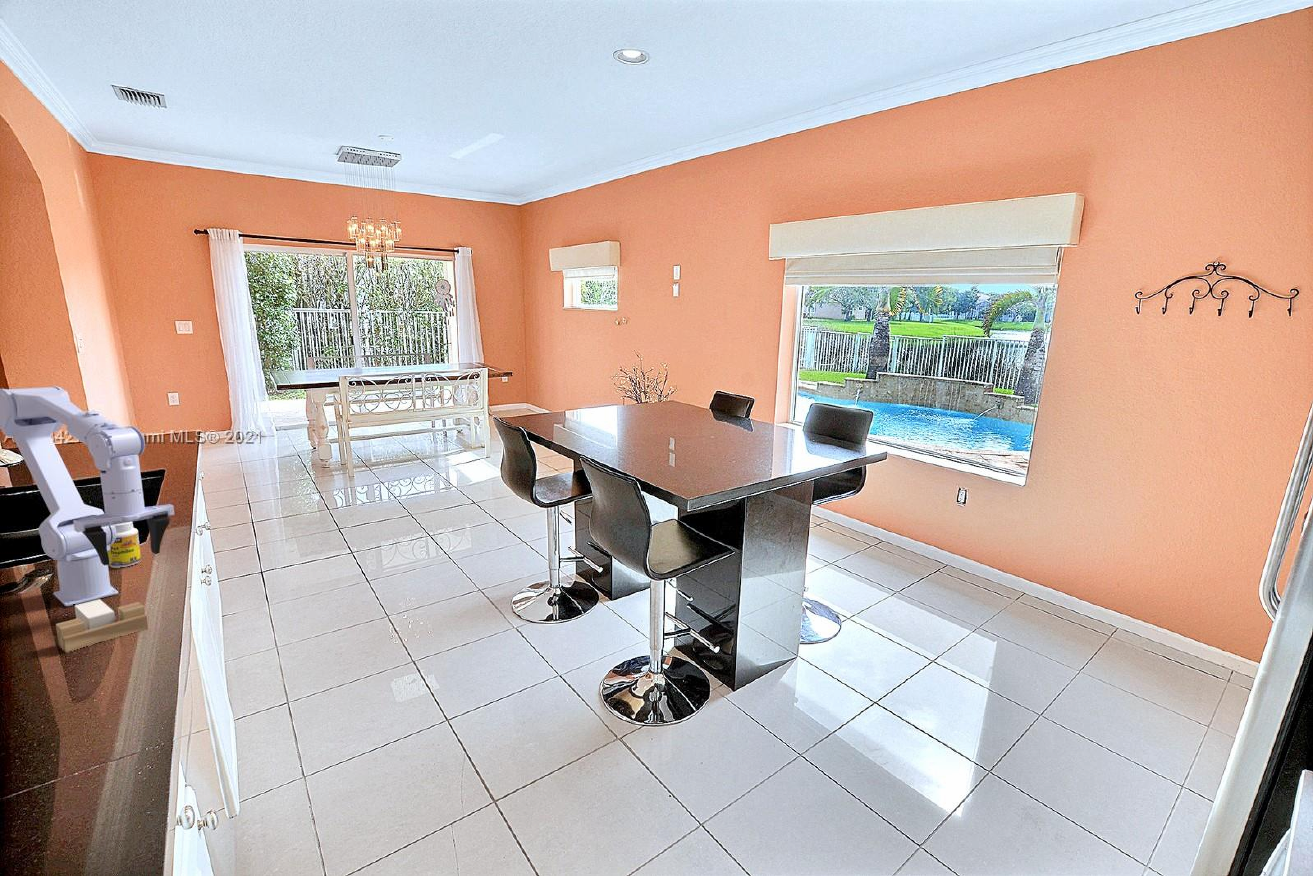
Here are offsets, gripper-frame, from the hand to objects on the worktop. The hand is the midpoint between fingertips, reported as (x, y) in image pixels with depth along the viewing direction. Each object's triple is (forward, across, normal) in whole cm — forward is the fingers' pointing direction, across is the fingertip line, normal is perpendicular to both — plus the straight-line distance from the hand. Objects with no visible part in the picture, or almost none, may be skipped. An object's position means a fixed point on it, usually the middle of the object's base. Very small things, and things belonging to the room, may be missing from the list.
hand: (131, 558), depth 116 cm
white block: (+10, -7, -4) cm, 13 cm away
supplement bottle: (+10, +6, +30) cm, 32 cm away
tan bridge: (+10, -7, -9) cm, 16 cm away
